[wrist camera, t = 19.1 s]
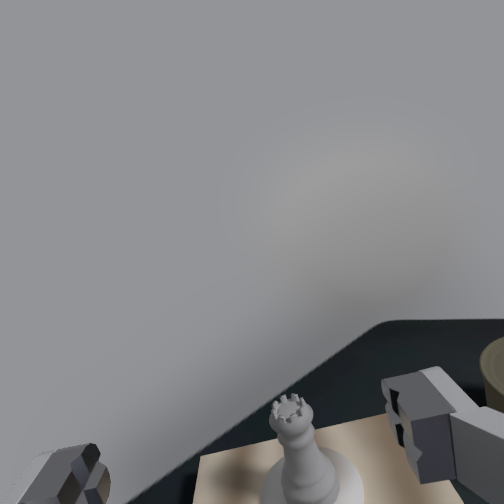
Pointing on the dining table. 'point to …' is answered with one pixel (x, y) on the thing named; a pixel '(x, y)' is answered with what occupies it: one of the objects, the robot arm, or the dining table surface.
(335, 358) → the dining table surface
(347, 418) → the dining table surface
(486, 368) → the can
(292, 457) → the rook chess piece
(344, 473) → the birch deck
